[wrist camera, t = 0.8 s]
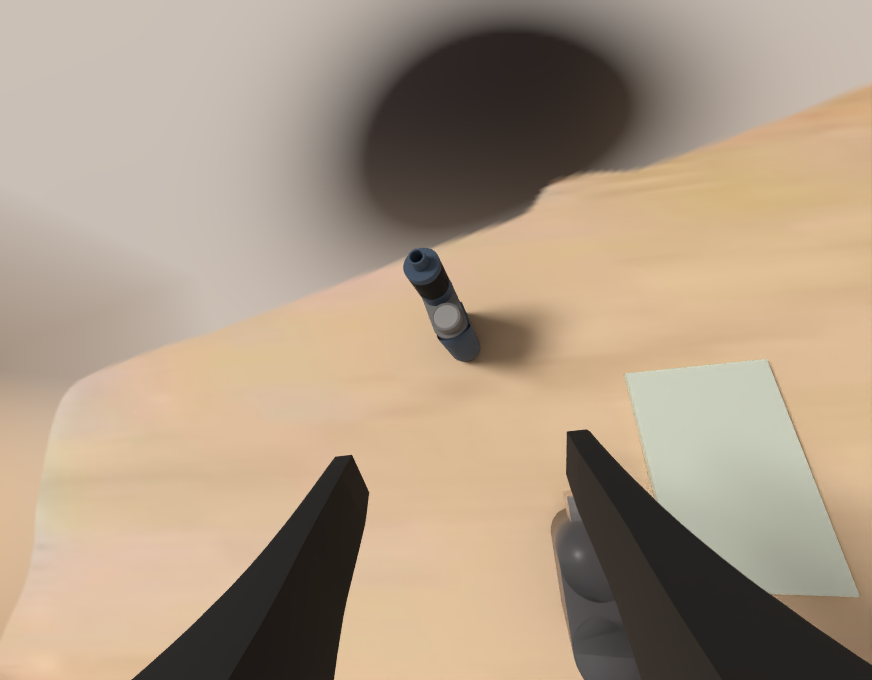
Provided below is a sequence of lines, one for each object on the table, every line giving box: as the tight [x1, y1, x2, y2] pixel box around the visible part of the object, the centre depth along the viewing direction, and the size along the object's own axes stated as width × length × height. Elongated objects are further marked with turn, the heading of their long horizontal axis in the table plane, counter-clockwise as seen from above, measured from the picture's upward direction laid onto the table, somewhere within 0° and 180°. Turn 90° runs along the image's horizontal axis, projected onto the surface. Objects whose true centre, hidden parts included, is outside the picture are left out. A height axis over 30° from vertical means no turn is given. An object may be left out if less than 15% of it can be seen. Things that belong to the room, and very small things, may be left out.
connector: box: [551, 491, 641, 680], centre depth 20 cm, size 9×4×6 cm, turn 4°
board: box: [624, 359, 860, 597], centre depth 22 cm, size 14×9×1 cm, turn 4°
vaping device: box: [403, 248, 480, 361], centre depth 24 cm, size 3×5×12 cm, turn 19°
